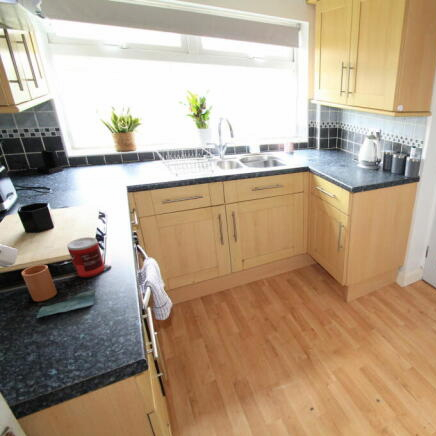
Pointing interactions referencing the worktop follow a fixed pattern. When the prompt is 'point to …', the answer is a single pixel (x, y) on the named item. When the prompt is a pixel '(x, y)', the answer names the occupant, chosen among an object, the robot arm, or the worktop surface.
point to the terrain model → (69, 304)
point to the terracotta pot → (39, 282)
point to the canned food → (86, 257)
